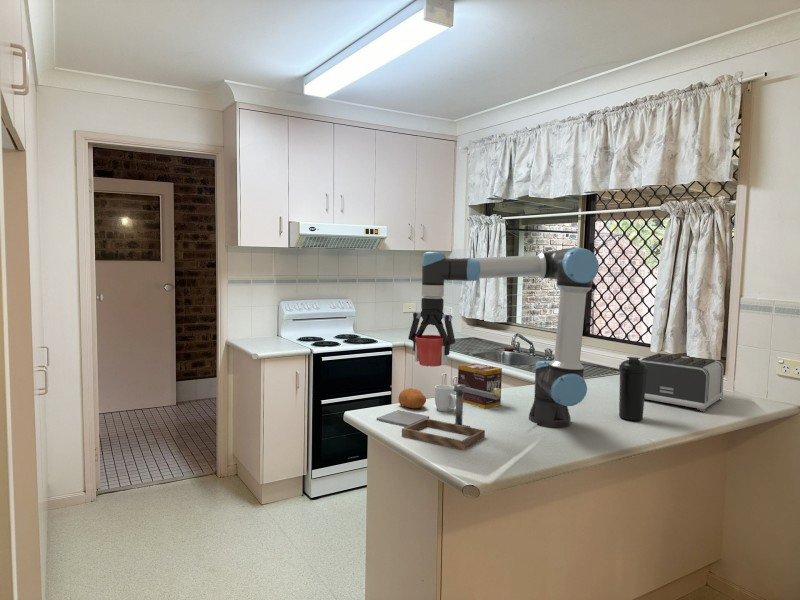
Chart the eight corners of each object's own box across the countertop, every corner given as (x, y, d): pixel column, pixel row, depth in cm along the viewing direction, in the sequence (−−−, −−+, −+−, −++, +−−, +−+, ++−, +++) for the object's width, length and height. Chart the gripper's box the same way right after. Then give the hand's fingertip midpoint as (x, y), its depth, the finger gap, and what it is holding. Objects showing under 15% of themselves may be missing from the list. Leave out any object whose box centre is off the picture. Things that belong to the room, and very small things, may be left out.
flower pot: (412, 361, 196) (413, 334, 196) (443, 361, 197) (444, 334, 197) (416, 367, 186) (417, 338, 185) (449, 367, 187) (450, 338, 186)
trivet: (429, 418, 208) (429, 416, 208) (408, 427, 197) (408, 424, 197) (397, 412, 216) (397, 410, 216) (376, 420, 205) (376, 418, 204)
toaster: (725, 398, 253) (728, 358, 252) (704, 412, 226) (707, 369, 225) (654, 386, 273) (656, 350, 272) (627, 398, 247) (629, 358, 246)
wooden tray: (484, 437, 187) (484, 430, 187) (463, 450, 174) (463, 442, 174) (425, 425, 200) (425, 418, 199) (401, 435, 187) (401, 428, 187)
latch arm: (459, 389, 198) (459, 378, 198) (503, 399, 184) (503, 388, 184) (451, 390, 195) (451, 380, 195) (496, 401, 181) (496, 390, 181)
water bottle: (643, 415, 220) (647, 357, 218) (646, 422, 210) (649, 361, 208) (616, 412, 223) (619, 355, 221) (617, 419, 213) (620, 359, 212)
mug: (462, 412, 217) (463, 389, 216) (446, 415, 213) (447, 391, 212) (445, 406, 226) (446, 383, 225) (430, 409, 222) (430, 385, 221)
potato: (413, 403, 230) (414, 385, 229) (430, 409, 221) (431, 391, 220) (395, 406, 225) (395, 388, 224) (412, 413, 215) (412, 393, 215)
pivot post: (470, 428, 197) (471, 392, 196) (462, 432, 192) (463, 395, 191) (455, 425, 200) (456, 389, 199) (446, 429, 195) (447, 392, 194)
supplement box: (485, 409, 223) (486, 370, 222) (456, 401, 235) (457, 364, 234) (501, 405, 230) (502, 367, 229) (473, 398, 241) (474, 362, 240)
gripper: (467, 298, 187) (465, 365, 189) (410, 295, 199) (408, 357, 201) (457, 299, 181) (455, 368, 182) (399, 296, 193) (397, 360, 194)
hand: (430, 362), depth 191 cm, fingers closed on flower pot, 10 cm apart
